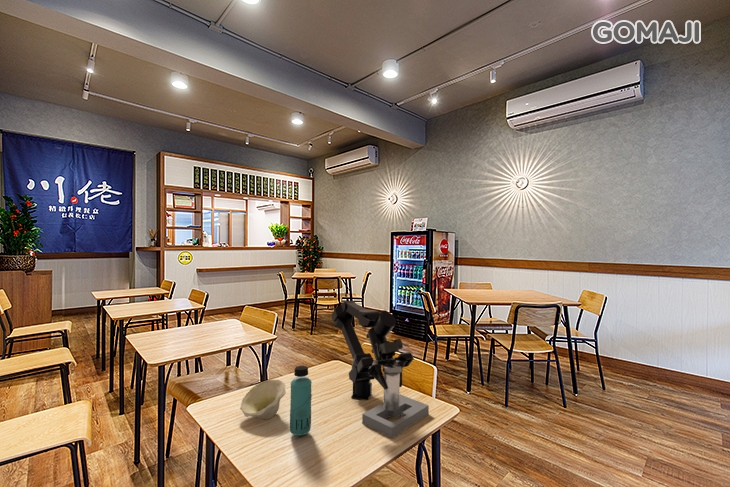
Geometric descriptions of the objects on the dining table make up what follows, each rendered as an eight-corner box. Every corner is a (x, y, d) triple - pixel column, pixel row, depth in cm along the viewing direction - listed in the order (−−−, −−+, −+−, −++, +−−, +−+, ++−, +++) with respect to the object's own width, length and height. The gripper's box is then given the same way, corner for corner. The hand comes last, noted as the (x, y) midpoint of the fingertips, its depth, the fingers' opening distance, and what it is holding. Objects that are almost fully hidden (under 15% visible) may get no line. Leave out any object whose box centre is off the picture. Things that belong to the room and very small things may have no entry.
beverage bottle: (292, 443, 94) (293, 372, 95) (286, 431, 100) (287, 365, 100) (314, 437, 97) (315, 369, 98) (307, 426, 103) (308, 362, 103)
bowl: (231, 416, 109) (232, 385, 109) (269, 402, 119) (270, 374, 119) (255, 434, 99) (255, 400, 99) (294, 417, 109) (294, 386, 109)
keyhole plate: (391, 438, 97) (391, 428, 98) (362, 423, 106) (362, 413, 106) (428, 414, 112) (428, 405, 112) (400, 402, 120) (400, 394, 120)
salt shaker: (383, 411, 102) (384, 369, 102) (380, 402, 108) (381, 362, 108) (402, 411, 103) (403, 369, 103) (398, 402, 109) (399, 362, 109)
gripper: (360, 333, 106) (374, 380, 95) (411, 328, 113) (429, 372, 103) (351, 350, 113) (363, 396, 103) (399, 345, 120) (415, 387, 110)
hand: (393, 387), depth 104 cm, fingers closed on salt shaker, 5 cm apart
